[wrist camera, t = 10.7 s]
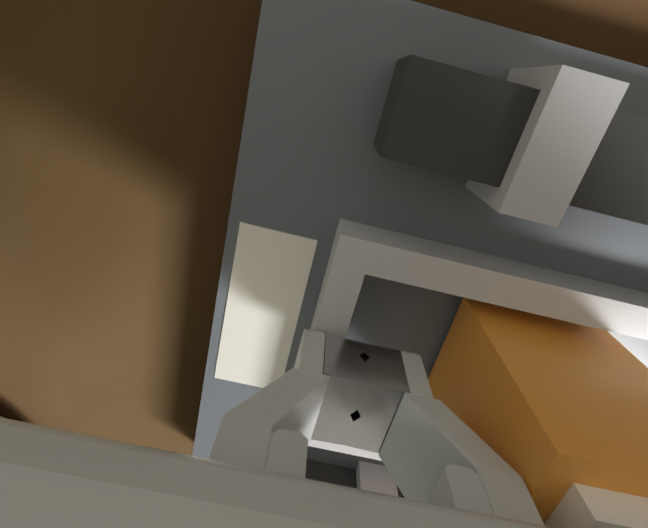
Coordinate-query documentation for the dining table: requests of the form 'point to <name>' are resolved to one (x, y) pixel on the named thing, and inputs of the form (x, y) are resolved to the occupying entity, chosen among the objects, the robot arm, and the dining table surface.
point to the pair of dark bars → (511, 157)
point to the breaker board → (390, 208)
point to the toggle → (553, 410)
